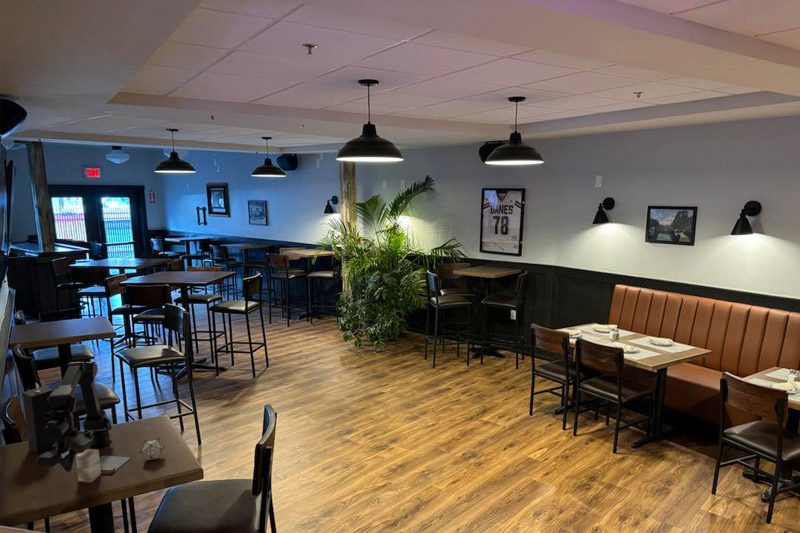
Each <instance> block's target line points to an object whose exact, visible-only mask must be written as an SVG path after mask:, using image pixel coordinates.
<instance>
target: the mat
mask: <svg viewBox="0 0 800 533" xmlns="http://www.w3.org/2000/svg"><path fill="white" fill-rule="evenodd" d="M99 459H100V466H103V467H115V472H116V471H117V470H118V469H120V468H122V467H123V466H124V465H125V464H126V463H127V462H129V461H130V460H132V457H129V456H128V457H127V456H115V455H114V456H113V455H102V456H99Z"/></svg>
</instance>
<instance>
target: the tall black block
mask: <svg viewBox="0 0 800 533" xmlns="http://www.w3.org/2000/svg"><path fill="white" fill-rule="evenodd" d="M54 390H55V389H52V388H49V387H48V386H46V385H44V386H40V385H39V383H37V382H35V388H32V389H30V390H26V391H23V392H21V394H22V399H23V407H24V408H23V409H24V415H25V416H24V417H25V424H26V433H27V441H28V449H29V451H30V450H31V451H30V452H32V453H34V454H35V455H37V456H41V455H42V454H44V453H46V452H52V451H53V450H54V449H53V447H52V446H53V445H55V443H48V442H45V441H44V440H43V439H42V432H43V430H44V429H45V428H46V427H47V425H48V422H49V421H50V420H49V419H45V420H44V414H45V407H46V401H47V399H48V398H49V396H50V394H51V393H52V392H53V391H54ZM55 412H57V411H53V412H51V411H50V413H55Z"/></svg>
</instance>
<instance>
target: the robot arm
mask: <svg viewBox="0 0 800 533" xmlns="http://www.w3.org/2000/svg"><path fill="white" fill-rule="evenodd" d="M98 372H99V371H98V364H97V363H96V362H95V361H83V360H82V361H72V362H69V363H68V364H67V369H66V372H65V374H64V376H63V378H62V380H61V382H60V384H59V386H58V388H55V389H53V390H54V391H53V392H52V393H51V394H50V396H49V398H48V399H47V401H46V407H45V414H44V420H45V419H49V420H50V421H49V422H48V425H47V427H46V428H45V429H44V430H43V432H42V439H43V440H44V441H45V442H48V443H55V445H53V446H52V447H53V450H55V451H48V452H46V453H43V454H40V455H38V457H37V458H36V466H39V467H50V468H51V467H55V465H58V464H60V466H61V467H62V469H63V470H65V472H67V473H69V472H71V471H72V468H73V466H74V465H73V464H74V461H75V459H76V455H77V454H79V453H83V452H84V451H85V450H87V449H103V448H104V447H106V446H107V445H109V444H110V443H111V442H113V440H112V439H111V438H110V432H109V431H111V430H113V427H112V426H113V425H112V420H111V419H110V418H109V417H108V416H107V411H105V410H104V409H102V408H101V406H100V401H99V399H98V393H97V388H96V385H95V378H96V376H97V373H98ZM78 385H79V386H80V391H81V396H82V399H83V403H84V408H85V411H86V412H85V413H86V415H85V417H84V420H83V422H82V423H83V424H82V425H83V426H82V427H83V430H84V431H79V430H78V428H75V423H74V414H73V413H75V412H76V411H75V410H76V405H77V397H76V396H75V391H76V389H77V386H78ZM50 411H51V412H53V411H56V412H55V413H50Z"/></svg>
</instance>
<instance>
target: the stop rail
mask: <svg viewBox="0 0 800 533" xmlns="http://www.w3.org/2000/svg"><path fill="white" fill-rule="evenodd" d="M100 469H101V474H107V475H112V474H114V473H115V472H116V471H115V467H103V466H100Z"/></svg>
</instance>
